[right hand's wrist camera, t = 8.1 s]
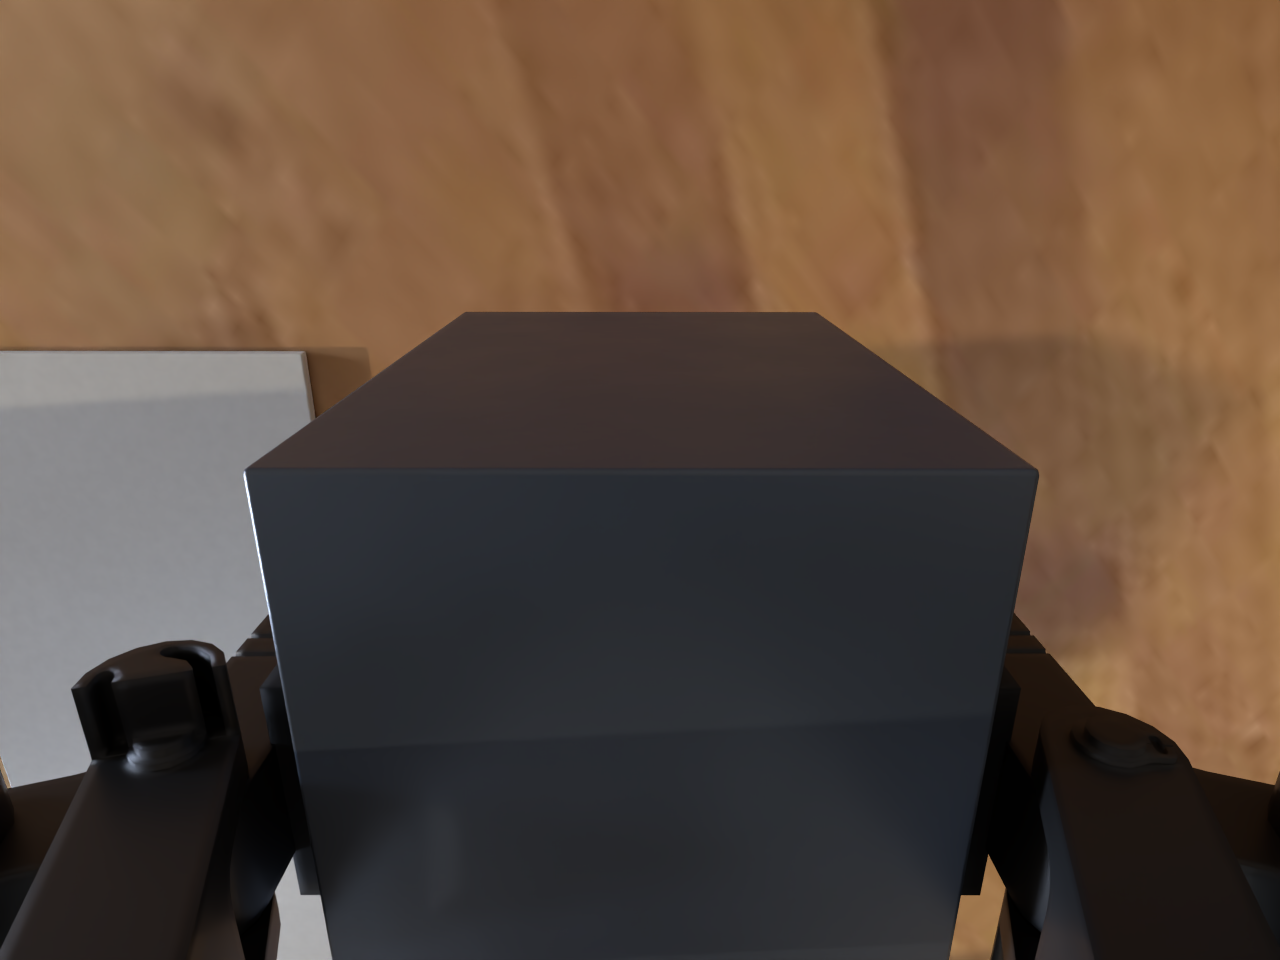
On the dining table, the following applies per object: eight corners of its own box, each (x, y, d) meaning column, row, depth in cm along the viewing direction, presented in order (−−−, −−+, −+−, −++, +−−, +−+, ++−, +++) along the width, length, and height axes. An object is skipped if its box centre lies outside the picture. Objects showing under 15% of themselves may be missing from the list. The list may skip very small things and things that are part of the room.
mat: (124, 1095, 38) (119, 1104, 38) (-127, 350, 26) (-138, 352, 25) (415, 1096, 38) (413, 1105, 38) (306, 350, 26) (301, 353, 25)
